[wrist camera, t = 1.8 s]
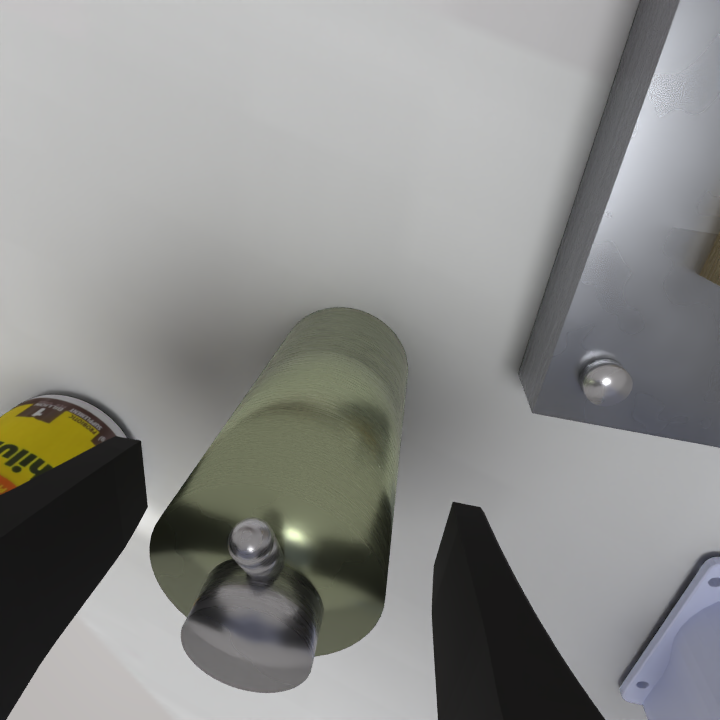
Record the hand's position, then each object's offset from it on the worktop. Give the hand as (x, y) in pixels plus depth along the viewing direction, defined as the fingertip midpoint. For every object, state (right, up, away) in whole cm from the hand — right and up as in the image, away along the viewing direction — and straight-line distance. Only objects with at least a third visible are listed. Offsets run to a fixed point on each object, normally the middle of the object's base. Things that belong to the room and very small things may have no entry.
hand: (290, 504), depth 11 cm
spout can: (+1, +3, +6) cm, 7 cm away
